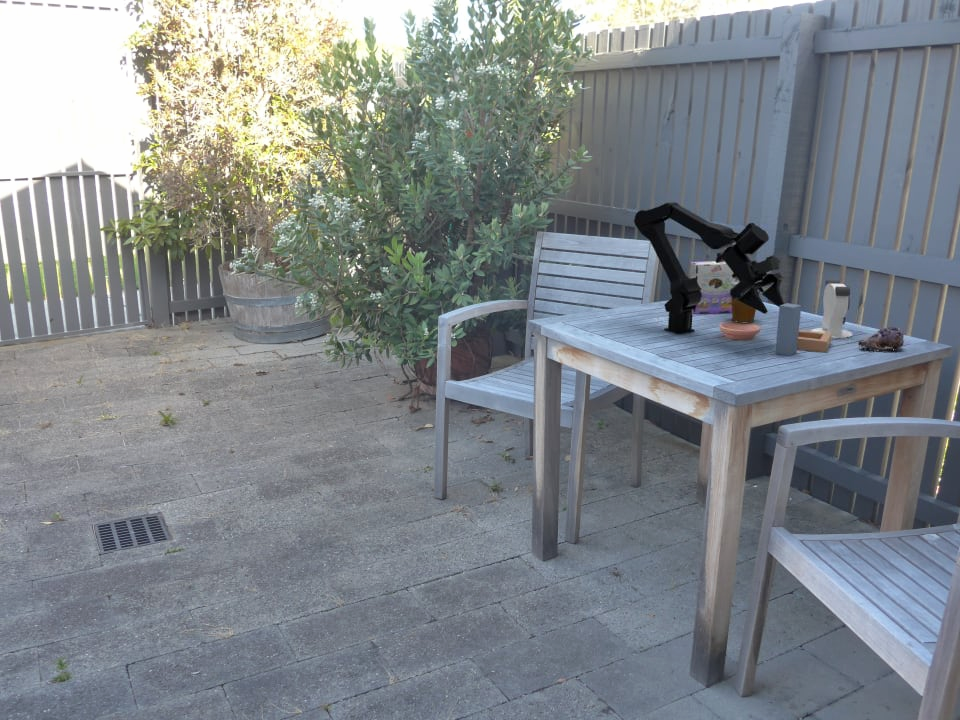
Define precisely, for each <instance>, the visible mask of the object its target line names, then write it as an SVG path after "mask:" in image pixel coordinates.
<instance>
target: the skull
mask: <svg viewBox="0 0 960 720" xmlns="http://www.w3.org/2000/svg"><path fill="white" fill-rule="evenodd" d="M904 335H905V334H904V332H903V330H902V329H901V328H900V327H898V326H894V327H892V326H891V327H888V326H887V327H886V326H885V327H882V328H881V329H879V330H877V332H874V333H873V334H872V335H871V336H869V337H866V338H861V339H860V340H859V341H858V345H857V346H858V347H861V348H863V347H864V350H865V351H866V350H867V349H869V350H870V351H871V350H880V351H884V350H890V351H892V350H893V349H894V350H895V351H897V350H896V349H898V350H899V349H901V348H902V347H903V346H904V343H905V342H904Z"/></svg>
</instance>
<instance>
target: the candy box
mask: <svg viewBox="0 0 960 720" xmlns="http://www.w3.org/2000/svg"><path fill="white" fill-rule="evenodd" d="M689 274H690V275H689V276H690V277H689V278H690V279H691V278H696V280H697V282H698V285H699V287H700V288H701V289H702V290H700V291H701V293H702V297H701V300H700V302H699V303H698V304H697V306H696V309H695V310H692V315H700V314H701V315H703V314H704V315H705V314H707V315H709V314H730V313H731V314H732V300H731V296H730V286H731V283H732V282H734V281H738V279H737V278H733V277H732V276H731V275H733V274H734V273H733V272H732V271H731V269H730V268H729V267H728V265H727V264H726V263H725V261H724V262H719V263H716V260H715V261H712V260H711V261H709V260H708V261H691V263H690V273H689Z"/></svg>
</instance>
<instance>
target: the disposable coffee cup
mask: <svg viewBox="0 0 960 720" xmlns="http://www.w3.org/2000/svg"><path fill="white" fill-rule="evenodd" d="M739 282H740V281H739V280H736V281H734V282H732V283H731V286H730V290H731V289H732V288H733V287H734V286H735V285H736V284H738V283H739ZM760 293H761V291H759V290H758V295H759V296H760ZM731 300H732V313H731V315H732V316H731V317H732V318H731V319H732V322H734V321H737V322H747V323H746V324H751V323H754V320H755V316H756V312H757V310H756V309H754V308H752V307H750V306H748V305H746V304H744V303H742V302H740V301H739V302H738V301H737V300H738V299H736V300H733V298H732V297H731ZM737 322H736V323H737Z"/></svg>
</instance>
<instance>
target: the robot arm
mask: <svg viewBox="0 0 960 720" xmlns="http://www.w3.org/2000/svg"><path fill="white" fill-rule="evenodd" d="M670 219H671V220H672V221H674V222H676V223H678V224H679V225H681V226H682V227H684V228H685V229H688V230H689V231H691V232H693V234H694V233H695V234H696V235H697V236H699V238H700V239H701V242H702V243H704V244H705V245H706V246H708V248H710V249H712V250H720V249H724V250H723V251H720V252H717V253H716V259H715V261H716V263H719V262H724V261H725V263H726V264H727V265H728V267H729V268H730V269H731V271H732V272H733V273H734V274H733V275H731V276H732V277H733V278H737V281H740V282H739V283H738V284H736V285H735V286H734V287H733V288H732V289H731V290H730V296H731V297H732V298H733V300H736V299H738V300H737V301H738V302H739V301H740V302H742V303H744V304H746V305H748V306H750V307H752V308H754V309H756V311H758V312H760V313H761V314H764V315H766V314H767V313H768V312H769V311H768V309H767V307H766V305H765V304H764V302H763V300H762V298H761V297H760V294H759V295H758V290H759V291H760V293H761V296H763V297H765V298H766V299H767V300H769V301H770V302H771V303H773V304H774V305H776V306H777V307H778V308H780V305H783V304H785V303H784V299H783V297H782V294H781V290H780V286H781V283H782V282H783V281H782V280H783V276H782V274H780V272H777V271H775V270H779V269H780V266H779V265H780V263H781V260H780V259H778V257H776V256H775V254H773V255H770V256H767V257H765V260H762V261H759V262H758V261H757V260H751V259H750V256H748V255H754V254H755V253H756V252H757V251H759V250H760V249H761V248H762V247H763V246H764V245H765V244H766V243H767V242H769V239H770V238H769V234H768V233H767V231H766V230H764V229H763V228H761V227H760V226H758V225H756V224H755V223H754V222H749V223H748V224H747V225H746V226H745V227H744V228H743V230H741V231H740V232H735V231H734V229H733V228H731V227H729V226H726V225H723V224H719V223H715V222H711V221H708V220H706V219H704V218H703V217H702V216H699V215H698V214H696V213H694V212H693V211H691V210H688V209H687V208H685V207H683V206H682V205H680V204H679V203H678V202H676V201H673V202H665V203H663V204H662V205H660V206H657V207H653V208H648V209H642V210H638V211H637V212H636V213H635V216H634V219H633V223H634V226H635V227H636V228H637V230H638V232H639V233H640V234H641V235H642V236H643V237H644V238H646V239H647V240H648V241H649V243H650V244H651V247H652V248H653V250H654V252H655V254H656V257H657V258H658V260H659V263H660V264H661V267H662V268H663V270H664V272H665V274H666V277H667V278H668V280H669V283H670V285H669V286H670V287H669V291H670V296H671V298H670V299H669V300H667V302H666V303H664V308H665V312H667V313H668V321H667V324H668V326H667V327H664V331H667V332H671V333H675V334H678V335H679V334H681V335H682V334H686V333H691V332H693V333H695V329H694V328H692V327H693V315H694V314H693V313H692V310H695V309H696V306H697V304H698V303H699V302H700V300H701V297H702V293H701V291H700V290H702V289H701V288H700V287H699V285H698V282H697V280H696V278H691V279H690V277H688V275H686V273H685V271H684V269H683V267H682V265H681V263H680V260H679V259H678V257H677V254H676V253H675V251H674V249H673V246H672V245H671V242H670V241H669V239H668V237H667V235H666V223H665V221H668V220H670ZM733 244H734V245H733ZM771 271H772V272H771ZM773 271H774V272H773ZM768 272H769V273H768Z"/></svg>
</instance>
